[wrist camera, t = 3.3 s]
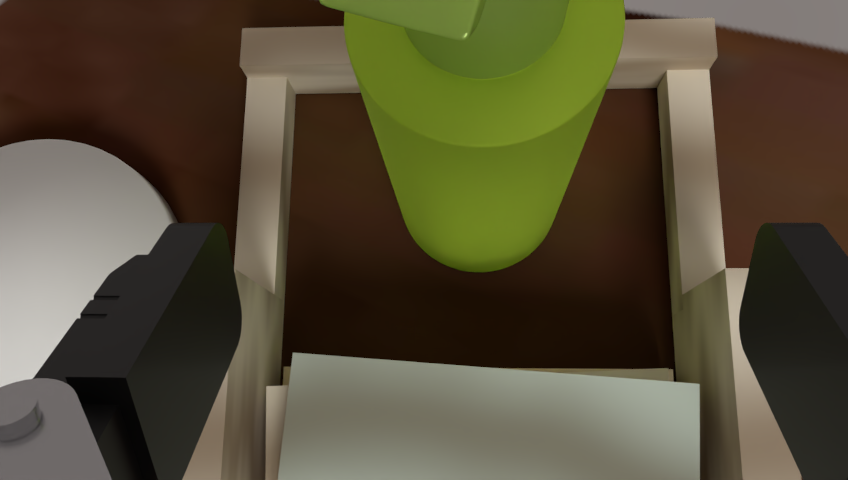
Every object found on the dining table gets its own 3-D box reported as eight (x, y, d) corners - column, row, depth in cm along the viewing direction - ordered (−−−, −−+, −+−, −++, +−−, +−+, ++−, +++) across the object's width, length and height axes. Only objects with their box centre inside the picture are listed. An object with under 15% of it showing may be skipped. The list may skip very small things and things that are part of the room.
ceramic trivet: (44, 502, 27) (24, 506, 26) (-153, 312, 29) (-180, 307, 28) (248, 262, 29) (238, 255, 27) (47, 98, 31) (30, 85, 29)
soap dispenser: (370, 272, 28) (145, -63, 9) (427, 105, 30) (342, -503, 10) (524, 320, 27) (650, 67, 8) (575, 146, 29) (787, -428, 9)
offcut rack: (737, 606, 25) (819, 662, 19) (225, 593, 26) (153, 642, 20) (694, 51, 29) (748, -41, 24) (260, 59, 30) (210, -27, 25)
